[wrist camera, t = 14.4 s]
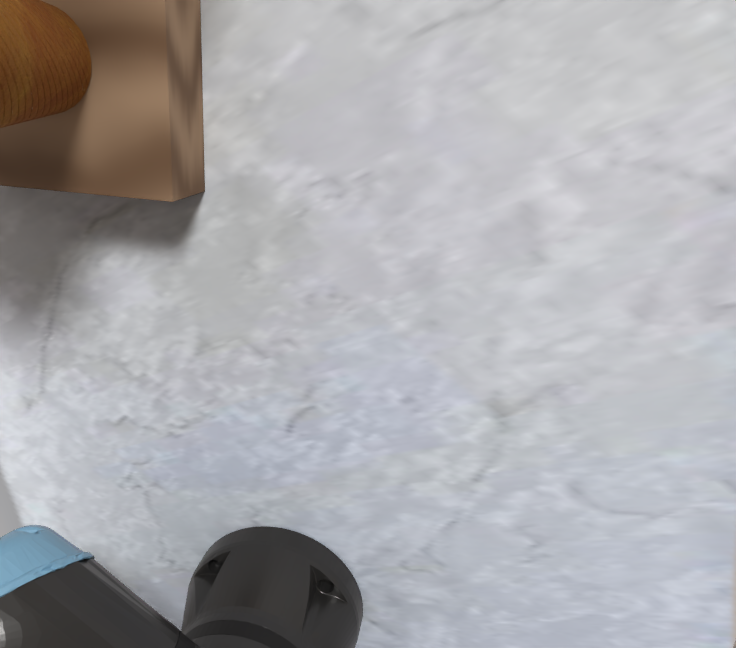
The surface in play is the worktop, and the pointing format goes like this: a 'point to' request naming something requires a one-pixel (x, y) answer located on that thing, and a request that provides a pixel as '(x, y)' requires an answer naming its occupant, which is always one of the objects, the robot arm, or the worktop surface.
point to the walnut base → (122, 108)
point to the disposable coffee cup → (39, 61)
